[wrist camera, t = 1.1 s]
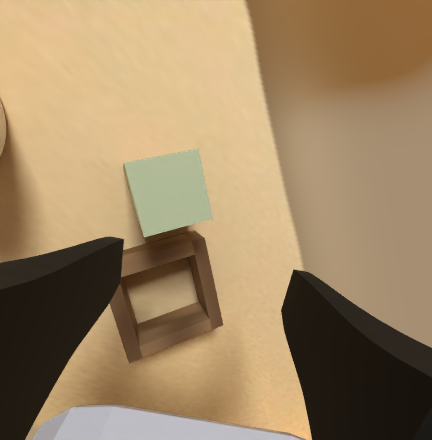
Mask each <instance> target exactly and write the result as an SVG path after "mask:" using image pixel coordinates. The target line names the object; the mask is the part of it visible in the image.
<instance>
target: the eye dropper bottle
mask: <svg viewBox="0 0 432 440" xmlns="http://www.w3.org/2000/svg"><path fill="white" fill-rule="evenodd" d="M5 140H6V120H5V114H4V110H3V106H2V103H1V101H0V157H1V154H2V152H3V149H4V145H5Z"/></svg>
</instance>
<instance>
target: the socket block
mask: <svg viewBox="0 0 432 440" xmlns="http://www.w3.org/2000/svg"><path fill="white" fill-rule="evenodd" d="M186 257H189V261H190V266H191V270H192V274H193V278H194V283H195V287H196V291H197V295H198V300H199V302H197V303H194V304H192V305H189V306H186V307H183V308H181V309H178V310H175V311H172V312H170V313H167V314H164V315H162V316H159V317H156V318H153V319H151V320H148V321H145V322H142V323H140V324H137V322H136V319H135V316H134V313H133V309H132V306H131V303H130V299H129V296H128V293H127V289H126V286H125V283H124V280H123V277H124V276H127V275H131V274H134V273H137V272H140V271H144V270H147V269H150V268H153V267H156V266H160V265H163V264H166V263H169V262H173V261H176V260H179V259H182V258H186ZM110 306H111V309H112V312H113V315H114V318H115V321H116V324H117V327H118V330H119V334H120V337H121V340H122V343H123V346H124V349H125V352H126V355H127V358H128V361H129V363H131V362H133V361H136V360H138V359H141V358H143V357H145V356H148V355H150V354H153V353H155V352H158V351H160V350H163V349H165V348H168V347H170V346H173V345H175V344H178V343H180V342H183V341H185V340H187V339H190V338H192V337H195V336H197V335H200V334H202V333H205V332H207V331H210V330H212V329H215V328H217V327H220V326H222V325H223V321H222V317H221V312H220V307H219V303H218V298H217V293H216V289H215V284H214V279H213V275H212V270H211V265H210V261H209V256H208V251H207V247H206V242H205V238H204V237H202V236H201V235H200V234H198V233H197V232H196V231H190V232H187V233H183V234H180V235H176V236H173V237H169V238H166V239H162V240H158V241H155V242H151V243H148V244H144V245H141V246H137V247H134V248H130V249H126V250H123V258H122V271H121V282H120V284H119V286H118V288H117V290H116V292H115V294H114V296H113V298H112V300H111V301H110Z"/></svg>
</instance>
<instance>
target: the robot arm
mask: <svg viewBox="0 0 432 440" xmlns="http://www.w3.org/2000/svg"><path fill="white" fill-rule="evenodd" d="M123 244H124V239H120V238H114V237H104V238H100V239H96V240H92V241H89V242H86V243H82V244H79V245H76V246H72V247H69V248H65V249H62V250H58V251H54V252H50V253H47V254H43V255H39V256H34V257H29V258H25V259H19V260H14V261H8V262H2V263H0V440H25V438H26V436H27V435H28V433H29V431H30V429H31V427H32V425H33V423H34V421H35V419H36V418H37V416H38V414H39V412H40V410H41V408H42V407H43V405H44V403H45V401H46V399H47V398H48V396H49V394H50V392H51V390H52V389H53V387H54V385H55V383H56V382H57V380H58V378H59V376H60V375H61V373H62V371H63V370H64V368H65V366H66V364H67V363H68V361H69V359H70V358H71V356H72V355H73V353H74V352H75V350H76V349H77V347H78V346H79V344H80V343H81V342H82V340H83V339H84V337H85V336H86V335H87V333H88V332H89V331H90V329H91V328H92V326H93V325H94V324H95V322H96V321H97V320H98V318H99V317H100V315H101V314H102V313H103V311H104V310H105V308H106V307H107V306H108V304H109V303H110V301H111V300H112V298H113V296H114V294H115V292H116V290H117V288H118V286H119V284H120V282H121V271H122V258H123ZM281 312H282V319H283V326H284V331H285V335H286V339H287V342H288V345H289V349H290V352H291V355H292V358H293V361H294V365H295V368H296V371H297V374H298V378H299V381H300V384H301V388H302V392H303V395H304V400H305V405H306V410H307V415H308V420H309V425H310V430H311V436H312V440H432V348H431V347H428V346H427V345H424V344H422V343H420V342H418V341H416V340H414V339H412V338H410V337H408V336H407V335H404V334H403V333H401V332H399V331H397V330H396V329H394V328H392V327H390V326H388V325H387V324H385V323H383V322H381V321H380V320H378V319H376V318H375V317H373V316H372V315H370V314H369V313H367V312H366V311H364V310H362V309H361V308H359V307H358V306H356V305H355V304H353V303H352V302H351V301H349V300H348V299H346V298H345V297H344V296H342V295H341V294H339V293H338V292H337V291H335V290H334V289H332V288H331V287H330V286H328V285H327V284H326V283H324V282H323V281H321V280H320V279H319V278H317V277H315V276H314V275H312V274H311V273H309V272H305V271H299V270H293V273H292V276H291V280H290V283H289V286H288V289H287V293H286V296H285V299H284V303H283V306H282V309H281ZM32 440H306V439H303V438H300V437H298V436H295V435H293V434H290V433H286V432H280V431H274V430H268V429H262V428H256V427H250V426H244V425H238V424H232V423H226V422H220V421H214V420H208V419H202V418H196V417H190V416H184V415H178V414H172V413H166V412H160V411H154V410H148V409H142V408H136V407H130V406H124V405H118V404H103V405H79V406H75V407H71V408H70V409H68V410H66V411H64V412H62V413H61V414H59V415H57V416H55V417H53V418H52V419H50V420H48V421H46V422H44V423H42V425H41V426H40V428H39V430H38V431H37V433H36V434H35V436H34V437H33V439H32Z"/></svg>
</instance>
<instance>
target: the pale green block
mask: <svg viewBox="0 0 432 440" xmlns="http://www.w3.org/2000/svg"><path fill="white" fill-rule="evenodd" d="M123 168H124V172H125V176H126V179H127V183H128V187H129V190H130V194H131V198H132V201H133V205H134V209H135V212H136V216H137V219H138V222H139V225H140V227H141V230H142V233H143V236H144V237H147V236H151V235H155V234H158V233H162V232H166V231H169V230H173V229H177V228H180V227H184V226H188V225H191V224H195V223H198V222H202V221H206V220H209V219H213V217H212V212H211V207H210V202H209V197H208V192H207V187H206V182H205V177H204V172H203V167H202V162H201V157H200V152H199V149H195V150H189V151H184V152H179V153H173V154H168V155H163V156H157V157H152V158H147V159H141V160H136V161H131V162H126V163H124V164H123Z"/></svg>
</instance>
